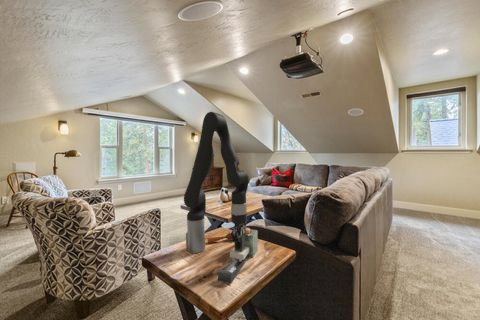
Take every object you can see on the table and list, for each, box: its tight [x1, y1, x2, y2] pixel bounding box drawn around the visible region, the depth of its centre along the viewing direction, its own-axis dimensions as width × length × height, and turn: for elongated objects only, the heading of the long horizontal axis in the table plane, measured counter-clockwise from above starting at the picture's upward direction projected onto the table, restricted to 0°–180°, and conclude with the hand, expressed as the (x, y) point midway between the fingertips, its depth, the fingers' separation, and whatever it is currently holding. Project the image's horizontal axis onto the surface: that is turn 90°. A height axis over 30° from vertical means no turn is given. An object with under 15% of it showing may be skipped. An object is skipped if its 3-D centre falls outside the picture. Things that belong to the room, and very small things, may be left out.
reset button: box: [245, 227, 251, 234], centre depth 114 cm, size 4×4×4 cm
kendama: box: [207, 229, 234, 245], centre depth 130 cm, size 6×6×20 cm
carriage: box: [229, 234, 249, 262], centre depth 105 cm, size 8×7×11 cm
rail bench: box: [217, 228, 259, 284], centre depth 104 cm, size 32×10×11 cm, turn 159°
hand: (239, 246), depth 105 cm, fingers closed on carriage, 3 cm apart
